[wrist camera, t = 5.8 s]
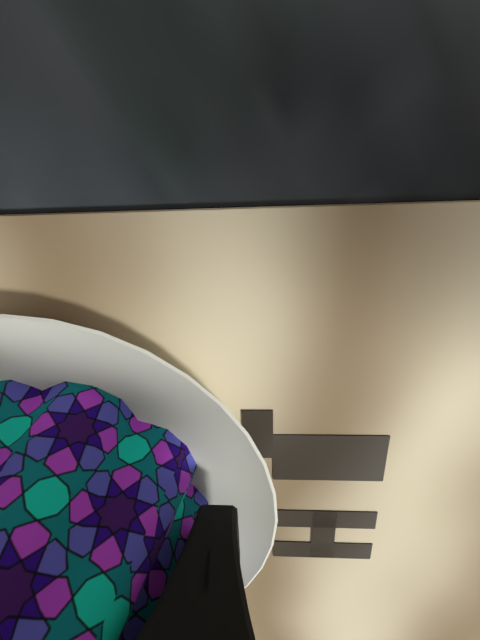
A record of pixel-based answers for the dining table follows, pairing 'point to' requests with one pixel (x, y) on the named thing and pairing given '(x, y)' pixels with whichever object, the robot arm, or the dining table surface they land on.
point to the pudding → (109, 480)
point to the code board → (308, 383)
